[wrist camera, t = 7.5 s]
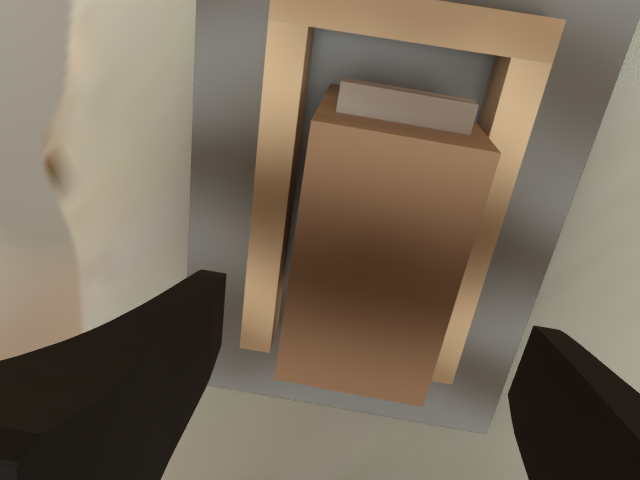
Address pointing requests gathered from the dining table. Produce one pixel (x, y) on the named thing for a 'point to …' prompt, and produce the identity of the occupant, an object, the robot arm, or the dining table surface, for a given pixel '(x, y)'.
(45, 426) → the robot arm
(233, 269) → the cradle
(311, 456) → the dining table surface
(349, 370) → the cabinet block
